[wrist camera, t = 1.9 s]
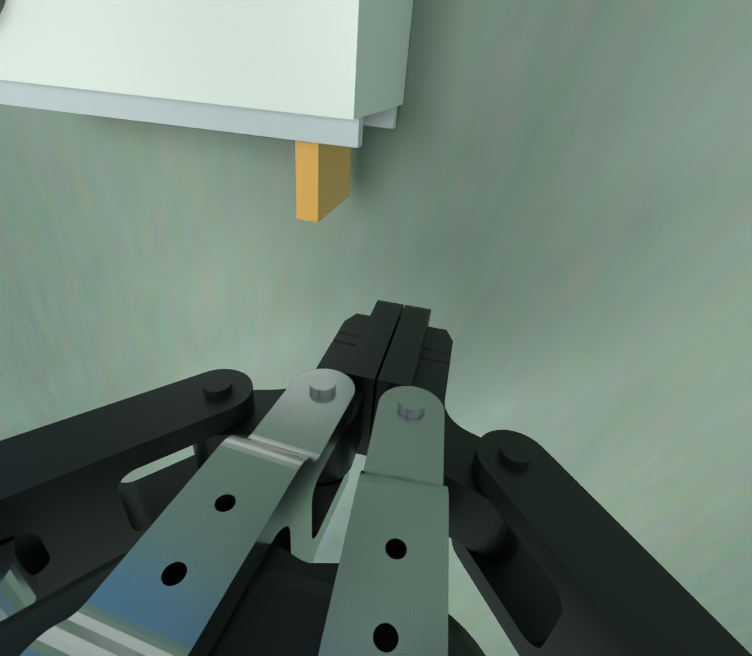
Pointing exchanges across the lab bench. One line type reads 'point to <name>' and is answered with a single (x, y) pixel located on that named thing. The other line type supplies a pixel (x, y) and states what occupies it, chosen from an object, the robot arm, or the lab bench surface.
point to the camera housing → (212, 63)
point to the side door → (318, 177)
